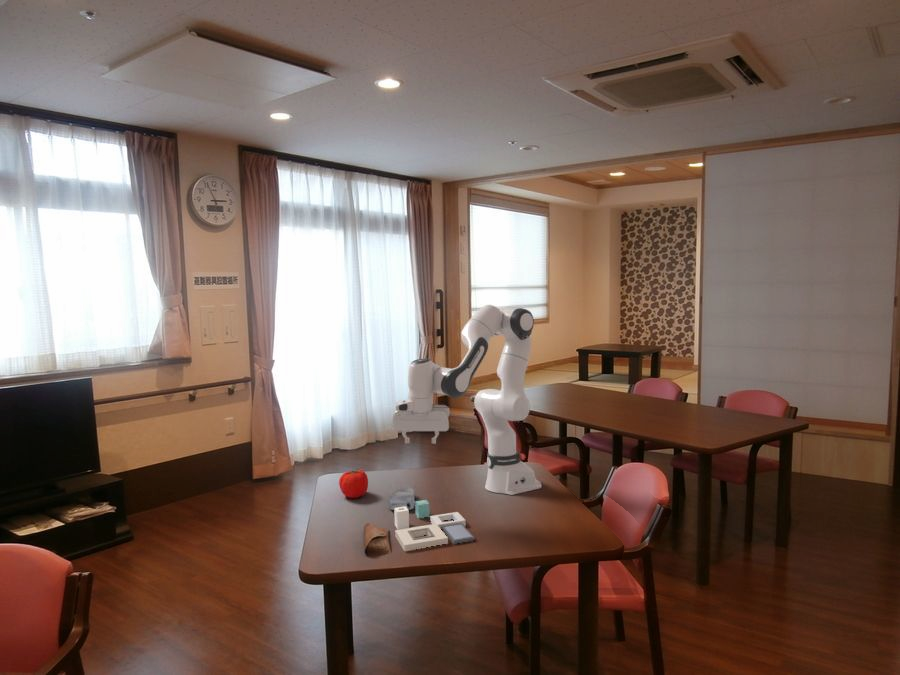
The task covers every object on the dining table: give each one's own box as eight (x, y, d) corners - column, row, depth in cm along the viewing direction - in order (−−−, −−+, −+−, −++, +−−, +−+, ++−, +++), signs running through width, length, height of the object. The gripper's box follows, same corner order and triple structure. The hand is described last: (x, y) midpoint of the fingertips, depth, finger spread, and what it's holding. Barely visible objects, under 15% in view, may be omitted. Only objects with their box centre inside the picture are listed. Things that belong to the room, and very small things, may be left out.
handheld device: (418, 493, 231) (417, 481, 231) (414, 512, 211) (413, 500, 211) (393, 493, 231) (393, 482, 231) (387, 513, 211) (387, 500, 211)
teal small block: (426, 513, 210) (426, 499, 209) (429, 517, 206) (429, 503, 205) (415, 515, 208) (415, 501, 208) (418, 519, 204) (418, 504, 204)
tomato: (371, 490, 235) (370, 464, 235) (365, 501, 223) (364, 474, 222) (343, 490, 236) (342, 465, 235) (336, 502, 223) (335, 475, 222)
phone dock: (457, 517, 205) (457, 511, 205) (479, 540, 186) (478, 534, 186) (430, 521, 202) (430, 516, 201) (449, 545, 183) (448, 539, 183)
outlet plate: (436, 529, 195) (436, 523, 195) (448, 544, 184) (447, 537, 184) (395, 536, 191) (395, 529, 190) (404, 551, 179) (404, 544, 179)
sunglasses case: (393, 552, 178) (381, 535, 177) (373, 566, 178) (361, 549, 177) (389, 529, 196) (378, 513, 195) (371, 541, 195) (360, 525, 194)
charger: (406, 523, 201) (405, 506, 200) (409, 527, 197) (408, 510, 197) (394, 525, 200) (394, 507, 199) (397, 529, 196) (397, 511, 195)
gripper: (449, 403, 212) (449, 441, 213) (393, 403, 212) (393, 440, 213) (449, 406, 206) (449, 445, 206) (391, 406, 206) (391, 445, 207)
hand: (420, 443), depth 210 cm, fingers open, 8 cm apart
